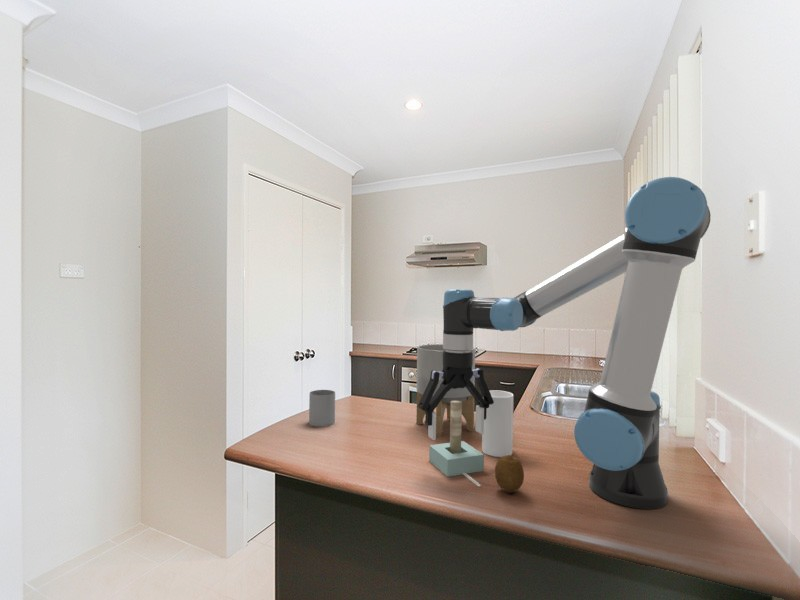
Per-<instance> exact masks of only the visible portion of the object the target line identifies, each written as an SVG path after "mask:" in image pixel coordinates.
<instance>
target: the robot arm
mask: <svg viewBox="0 0 800 600" xmlns="http://www.w3.org/2000/svg"><path fill="white" fill-rule="evenodd" d="M624 223H625V227H624V229H623V232H622V234H621V235H619V236H617V237H616V238H614V239H612V240H610V241H608V242H607V243H606V244H604V245H601V246H600V247H599V248H597V249H595V250H593V251H592V252H589V253H588V254H586V255H585V256H583V257H581V258H579V259H578V260H576V261H575V262H573V263H571V264H570V265H568V266H566V267H564V268H562V269H561V270H559V271H558V272H556V273H553V274H552V275H550V276H548V277H547V278H545V279H544V280H542V281H540V282H538V283H537V284H535V285H533V286H532V287H530V288H529V289H527V290H525V291H523V292H521V293H519V294H518V295H516V296H515V297H475V292H474V290H472V289H461V288H459V289H456V288H452V289H447V290H445V291H444V294H443V295H444V296H443V305H442V309H443V310H442V311H443V332H442V344H443V349H445V351H444V352H443V370H442V372H437V371H434V370H432V371H431V375H430V380H429V383H428V385H427V387H426V389H425V391H424V394H423V396H422V398H421V400H420V402H419V404H418V407H419V408H420V409H421V410H423V411H425V416H424V418H425V419H424V420H425V421H424V422H425V425H427V426H428V427H427V429H428V430H427V437H428V438H430V439H431V440H433V441H435V440H436V439H437V438H436V437H437V435H436V412H435V410H436V407H437V405H438V404H439V403H440V401H441V400H442V398H443V397H444V396H445V394H446V393H447V392H448V391H449V390H450V389H451V388H453V389H457V388H464V387H466V388H467V389H468V391H469V392H470V393H471V395H472V396H473V397H474V401H476V403H477V404H478V405H475V427H474V429H475V430H474V431H475V432H477V433H479V434H481V435H482V434H484V419H486V409H487V408H489V405H490V404H493V403H494V401H493V399H492V396H491V394H490V392H489V388H488V385H487V382H486V380H485V377H484V370H483V369H481V368H479V367H475V369H474V370H472V365H473V353H472V352H471V350H472V349H473V347H474V329H482V330H483V329H484V330H493V331H494V330H495V331H500V332H505V331H506V332H507V331H509V332H510V331H511V332H513V331H516V330H518V329H519V328H527V327H528V326H531V325H533V324H534V323H535V322H536V321H537V320H538V319H540V318H541V317H543V316H545V315H547V314H548V313H551V312H553V311H554V310H556V309H558V308H560V307H562V306H565V305H567V304H568V303H570V302H571V301H574V300H575V299H577V298H579V297H581V296H583V295H585V294H587V293H589V292H590V291H592V290H595V289H596V288H599V287H600V286H602V285H604V284H606V283H607V282H611V281H612V280H614V279H616V278H617V277H619V276H621V275H623V274H625V276H624V280H623V284H622V288H621V292H620V297H619V301H618V305H617V310H616V314H615V317H614V318H615V319H614V322H613V326H612V331H611V334H610V338H609V343H608V347H607V352H606V355H605V359H604V365H603V368H602V373H601V377H600V380H599V381H597V383H594V384H592V385H590V387H589V389H588V395H587V398H586V403H585V405H584V407H585V408H584V411H583V412H582V413H581V414H580V415H579V416H578V417H577V420H576V423H575V424H574V428H573V429H574V430H573V431H574V432H573V434H574V435H573V436H574V440H575V443H576V445H577V448H579V450H580V452H581V454H582V455H583V456H584V457H585V458H586V459H587V460H588V461H589V462H591V463H592V464H593V466H592V467H591V468H592V469H591V471H590V473H589V476H588V477H589V478H588V479H589V481H588V482H589V488H590V489H591V491H592V492H594V493H595V494H596V495H598V496H599V497H600V498H603V499H605V500H607V501H609V502H612V503H614V504H617V505H621V506H623V507H624V506H625V507H628V508H629V507H630V508H634V509H644V510H653V509H654V510H655V509H660V508H663V507H664V506H666V505H667V504H668V502H669V501H668V498H669V495H668V494H669V492H668V488H667V485H666V482H665V480H664V475H663V473H662V469H661V466H660V463H659V462H660V461H659V460H660V459H659V457H660V455H659V453H660V421H661V419H660V414H661V413H660V411H661V409H662V406H661V400H660V396H659V394H658V393H657V392H654V391H652V389H653V384H654V380H655V377H656V373H657V368H658V365H659V360H660V357H661V353H662V349H663V345H664V343H665V338H666V333H667V331H668V326H669V322H670V318H671V314H672V310H673V306H674V302H675V298H676V294H677V291H678V287H679V283H680V278H681V274H682V271H683V269H684V268H685V267H687V266H689V265H690V264H692V263H694V262H696V257H697V253H698V249H699V247H700V242H701V239H702V238H703V237H704V236H705V235H706V233H707V232H708V229H709V227H710V223H711V211H710V208H709V205H708V201H707V197H706V195H705V193H704V192H703V190H702V189H701V188H700V187H699V186H697V185H696V184H695V183H694V182H691V181H690V180H688V179H685V178H682V177H677V176H667V177H666V176H664V177H659V178H656V179H652V180H650V181H648V182H646V183H645V184H642V186H640V187H639V188H638V189H636V190H635V191H634V193H632V195H631V196H630V198H629V199H628V201H627V202H626V206H625V210H624ZM472 376H474V377H475V381H476V384H477V386H478V389H479V391H480V392H479V391H478V389H477V388H476V387H474V384H473V383H472V382H471V380H470V379H471V378H472ZM441 377H442V378H443V379H444V380H443V381H442V383H441V384H440V387H439V388H438V390H437V391H436V392H435V394H434V391H435V389H436V387H437V385H438V382H439V380H440V379H441ZM433 394H434V395H433ZM483 398H484V399H483Z"/></svg>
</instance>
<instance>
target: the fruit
mask: <svg viewBox="0 0 800 600" xmlns="http://www.w3.org/2000/svg"><path fill="white" fill-rule="evenodd" d="M494 475H495V481H496V483H497V485H498V487H499V488H500V489H501V490H503V491H505V492H506V493H514V492H517V491H518V490H519V489H520V488H521V487H522V486H523V483H524V479H525V472H524V467H523V464H522V463H521V461H520V460H519V459H518V458H517V457H515V456H513V455H508V456H503V457H499V458H498V460H497V462H496V463H495V467H494Z"/></svg>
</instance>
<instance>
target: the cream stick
mask: <svg viewBox="0 0 800 600" xmlns="http://www.w3.org/2000/svg"><path fill="white" fill-rule="evenodd" d="M462 475H463V476H464V477H465V478H466V479H468V480H469V481H470V482H472V483H473V484H474V485H476V487H478V488H479V487H482V484H481V483H479V482H478V481H477V480H475V479H474V477H471V476H470V475H469V473H467V474H466V473H463V474H462Z"/></svg>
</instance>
